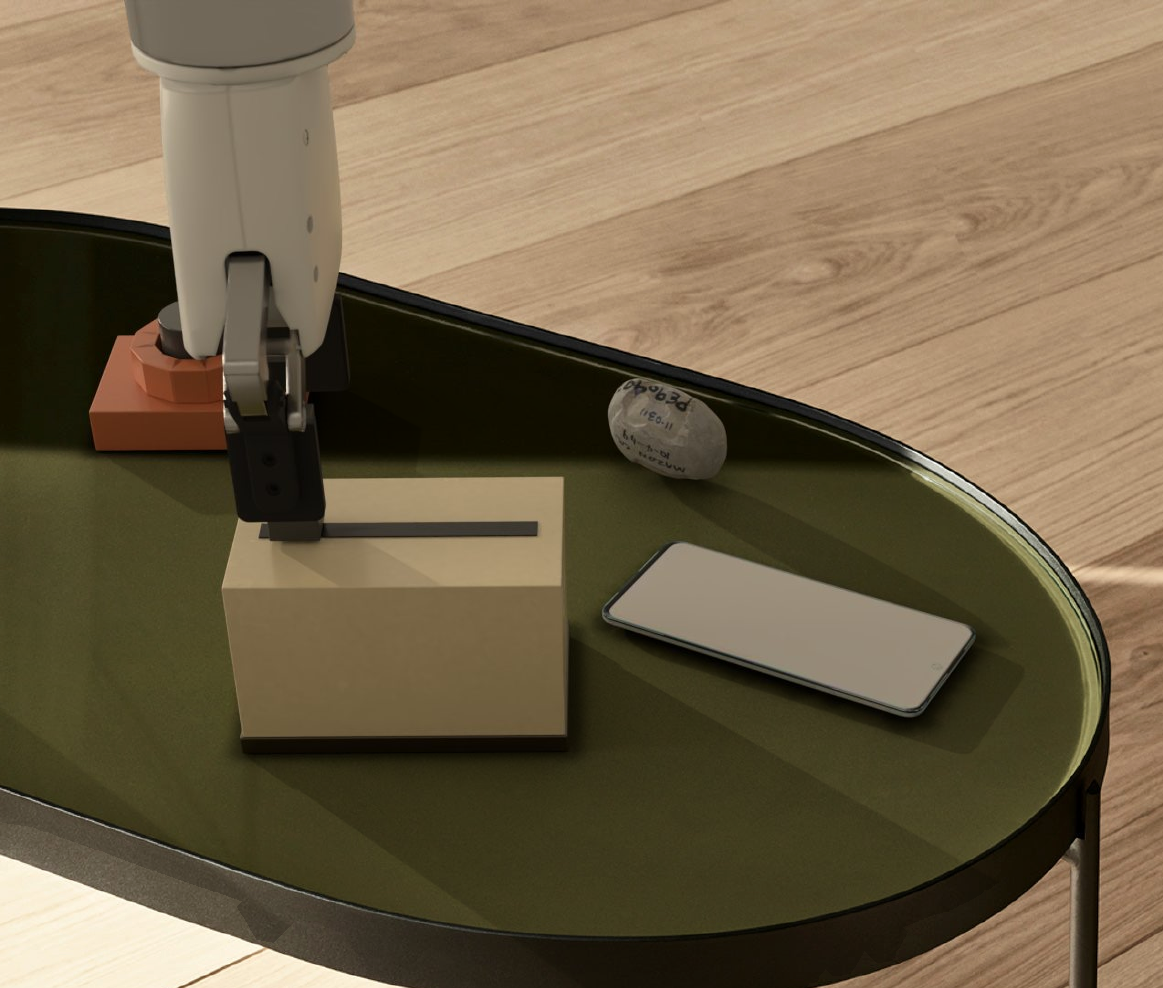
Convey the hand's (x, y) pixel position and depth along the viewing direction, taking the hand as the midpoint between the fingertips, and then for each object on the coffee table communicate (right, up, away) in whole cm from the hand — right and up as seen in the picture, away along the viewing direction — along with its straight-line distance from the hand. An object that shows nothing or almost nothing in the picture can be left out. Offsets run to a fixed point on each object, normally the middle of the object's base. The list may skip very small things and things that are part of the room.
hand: (297, 450), depth 81 cm
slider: (0, -3, +2) cm, 4 cm away
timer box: (-8, +6, +26) cm, 28 cm away
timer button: (-8, +9, +24) cm, 27 cm away
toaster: (+4, -9, +8) cm, 12 cm away
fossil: (+15, +2, +21) cm, 25 cm away
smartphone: (+20, -6, +10) cm, 23 cm away
